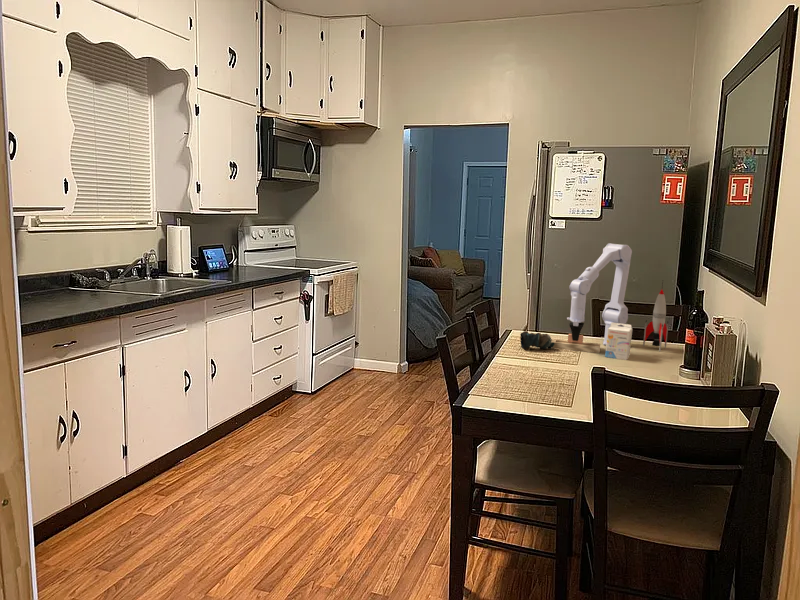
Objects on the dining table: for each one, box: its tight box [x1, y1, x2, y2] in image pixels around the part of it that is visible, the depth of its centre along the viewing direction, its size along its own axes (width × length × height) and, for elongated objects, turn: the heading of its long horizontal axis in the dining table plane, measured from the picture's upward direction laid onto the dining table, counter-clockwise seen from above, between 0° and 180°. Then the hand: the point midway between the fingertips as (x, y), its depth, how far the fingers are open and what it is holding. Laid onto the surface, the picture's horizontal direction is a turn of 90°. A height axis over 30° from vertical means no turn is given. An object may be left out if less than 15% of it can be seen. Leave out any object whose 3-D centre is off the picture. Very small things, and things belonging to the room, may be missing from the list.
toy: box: [642, 281, 669, 352], centre depth 260 cm, size 10×9×30 cm
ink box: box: [604, 322, 633, 361], centre depth 246 cm, size 9×8×13 cm
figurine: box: [519, 330, 555, 351], centre depth 254 cm, size 9×8×15 cm
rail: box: [551, 338, 601, 354], centre depth 258 cm, size 20×7×2 cm, turn 71°
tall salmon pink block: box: [567, 333, 584, 344], centre depth 257 cm, size 6×2×6 cm, turn 71°
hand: (575, 340), depth 257 cm, fingers closed on tall salmon pink block, 2 cm apart
